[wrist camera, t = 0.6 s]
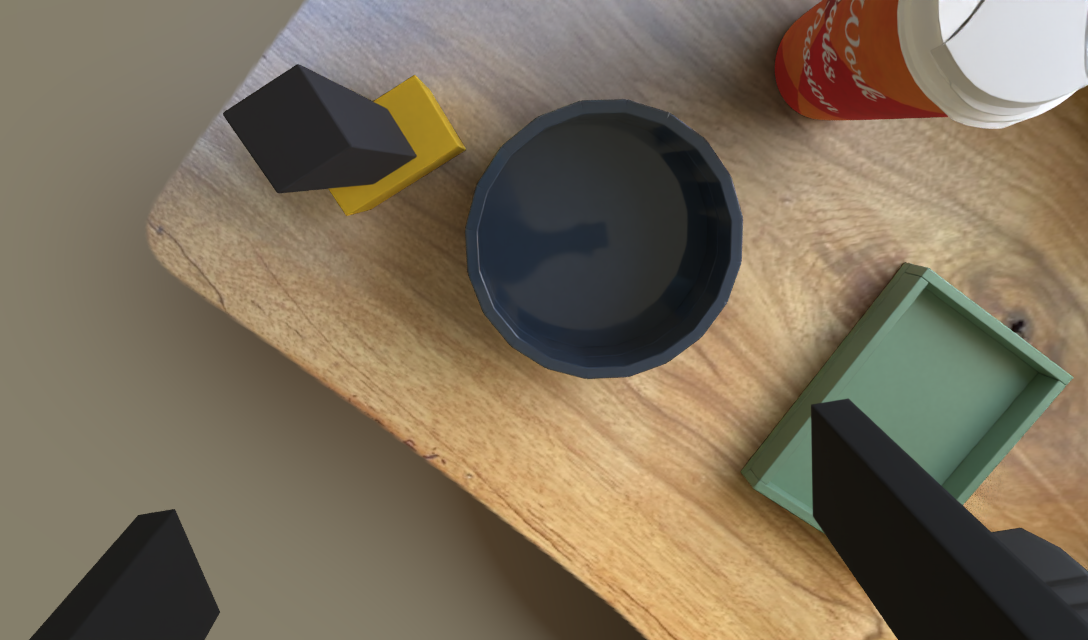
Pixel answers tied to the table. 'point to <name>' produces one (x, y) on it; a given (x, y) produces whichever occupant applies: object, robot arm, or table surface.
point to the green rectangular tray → (918, 390)
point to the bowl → (604, 238)
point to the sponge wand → (343, 137)
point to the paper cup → (934, 59)
